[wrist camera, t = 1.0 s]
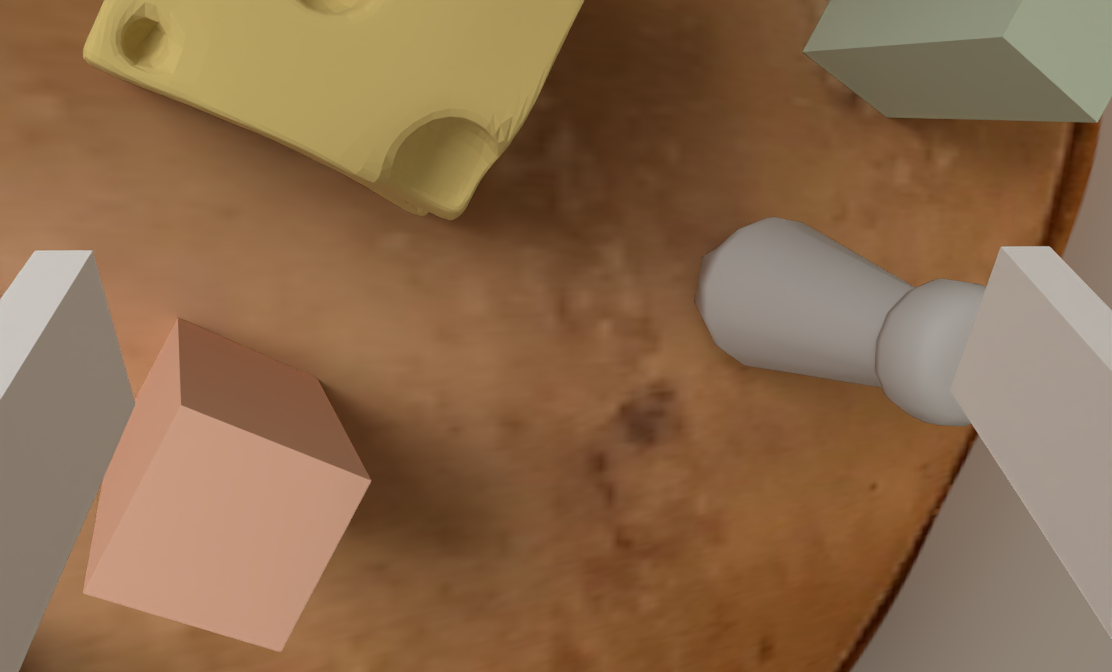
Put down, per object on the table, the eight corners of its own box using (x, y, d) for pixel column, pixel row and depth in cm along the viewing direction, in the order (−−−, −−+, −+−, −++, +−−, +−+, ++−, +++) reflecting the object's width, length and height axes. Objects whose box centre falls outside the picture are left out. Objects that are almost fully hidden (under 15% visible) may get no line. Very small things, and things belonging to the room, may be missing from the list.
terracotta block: (107, 451, 32) (83, 593, 22) (177, 317, 31) (180, 404, 22) (250, 504, 34) (280, 652, 25) (316, 378, 34) (371, 480, 24)
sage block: (802, 51, 38) (1002, 37, 29) (863, -63, 37) (1084, -114, 28) (886, 117, 40) (1097, 122, 31) (944, 9, 40) (1173, -18, 31)
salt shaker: (709, 189, 37) (955, 230, 26) (819, 239, 40) (1090, 297, 28) (654, 329, 38) (870, 432, 26) (765, 370, 40) (1010, 480, 29)
